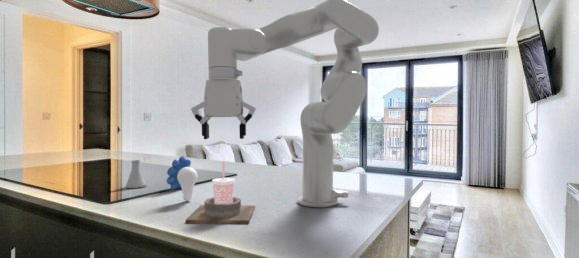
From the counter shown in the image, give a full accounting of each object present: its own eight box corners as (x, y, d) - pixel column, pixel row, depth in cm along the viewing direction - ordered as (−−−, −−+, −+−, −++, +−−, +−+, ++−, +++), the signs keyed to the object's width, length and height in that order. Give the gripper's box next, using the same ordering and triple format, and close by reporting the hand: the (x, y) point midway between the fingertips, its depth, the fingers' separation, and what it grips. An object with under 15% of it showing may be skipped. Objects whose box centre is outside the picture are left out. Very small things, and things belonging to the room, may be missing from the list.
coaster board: (254, 208, 100) (254, 194, 100) (248, 223, 86) (248, 207, 86) (200, 207, 100) (200, 194, 100) (185, 222, 86) (185, 207, 86)
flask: (127, 185, 131) (126, 159, 130) (147, 184, 133) (147, 158, 132) (123, 189, 124) (123, 162, 123) (145, 188, 126) (145, 161, 125)
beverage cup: (207, 212, 92) (207, 161, 92) (223, 207, 97) (223, 159, 97) (223, 216, 89) (223, 163, 88) (239, 211, 94) (239, 161, 93)
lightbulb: (191, 204, 103) (191, 168, 103) (173, 203, 105) (173, 168, 104) (201, 199, 109) (200, 165, 109) (183, 198, 111) (183, 165, 110)
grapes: (183, 184, 132) (183, 154, 131) (196, 186, 129) (196, 155, 128) (158, 190, 122) (158, 157, 121) (172, 193, 118) (172, 158, 118)
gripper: (256, 76, 95) (257, 137, 96) (194, 77, 95) (196, 137, 96) (253, 73, 88) (254, 139, 88) (186, 74, 88) (188, 140, 89)
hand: (224, 138), depth 92 cm, fingers open, 9 cm apart
